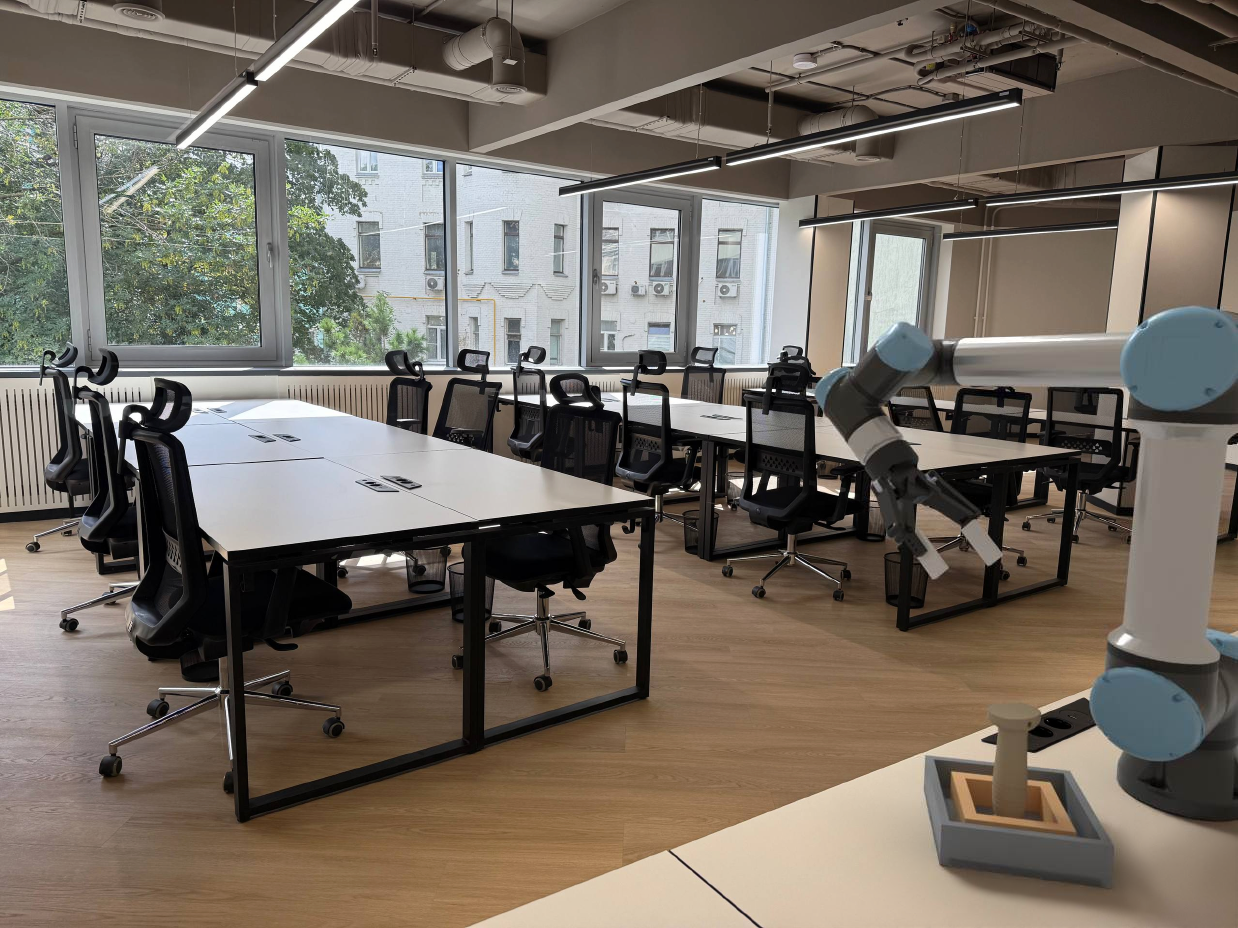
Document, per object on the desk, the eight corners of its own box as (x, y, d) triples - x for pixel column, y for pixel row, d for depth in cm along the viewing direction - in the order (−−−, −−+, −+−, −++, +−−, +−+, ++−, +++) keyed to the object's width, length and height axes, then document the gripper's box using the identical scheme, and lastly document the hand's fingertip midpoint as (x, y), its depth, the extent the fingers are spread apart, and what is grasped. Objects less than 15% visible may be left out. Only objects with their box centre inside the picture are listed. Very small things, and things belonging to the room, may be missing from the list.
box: (1067, 806, 110) (1069, 770, 110) (1110, 888, 93) (1114, 845, 92) (923, 789, 115) (925, 754, 114) (939, 864, 97) (941, 824, 97)
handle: (1042, 830, 103) (1049, 713, 101) (1003, 841, 100) (1010, 722, 99) (1011, 811, 107) (1017, 699, 106) (972, 821, 105) (978, 707, 103)
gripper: (917, 463, 138) (998, 569, 128) (815, 474, 124) (897, 594, 113) (947, 433, 133) (1034, 540, 123) (845, 441, 119) (934, 564, 108)
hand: (969, 567), depth 118 cm, fingers open, 13 cm apart
